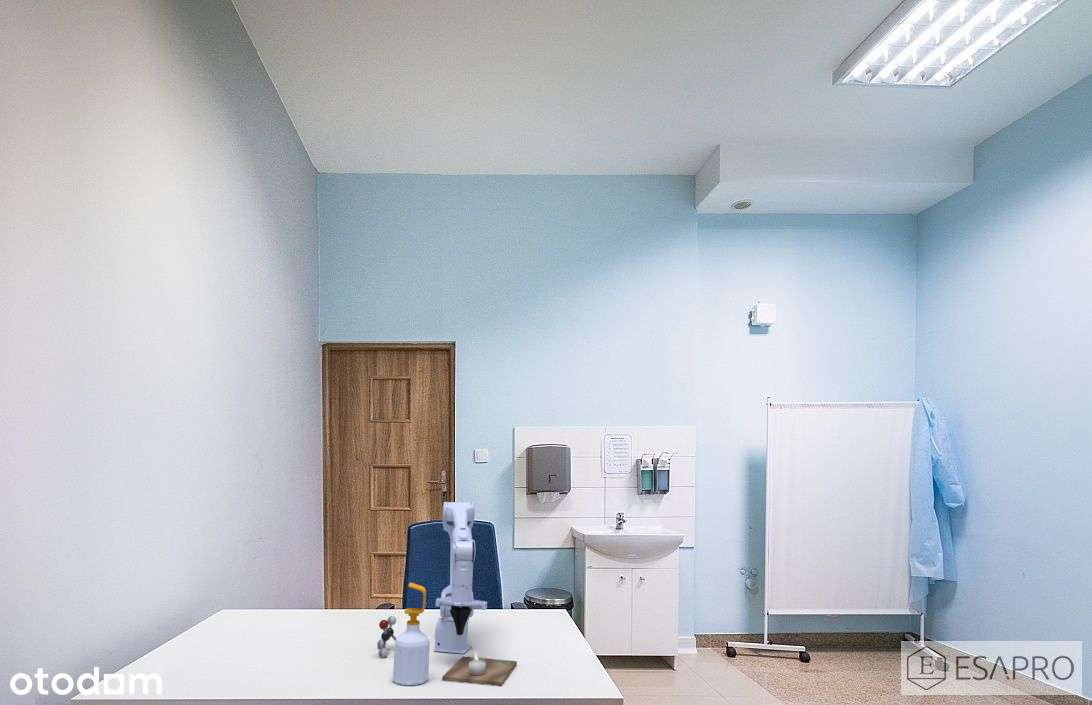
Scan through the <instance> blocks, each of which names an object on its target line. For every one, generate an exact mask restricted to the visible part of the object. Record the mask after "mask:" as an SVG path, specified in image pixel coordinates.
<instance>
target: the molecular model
mask: <svg viewBox="0 0 1092 705" xmlns="http://www.w3.org/2000/svg"><path fill="white" fill-rule="evenodd" d="M395 624H397V617H396V616H394V615H390V616H389V617H388V618H387V619H382V620H380V621H379V624H378V627H379V628H380V629H381V630H382V631H383V632H382V633H381V636H380V639H379V640H378V641H377V642H376V645H377V646H376V647H378V648H379V650H378V653H377V654H378V656H379V657H380V658H382V659H384V658H386V657H387V656H388V654H389V652H388V649H387V648H386V646H387V641H389V640H390V639H391V638H392V639H393V640H394V641H395V640H396V638H397V637H396V636H395V634H394V633H395V632H394V631H395V630H394V629H393V628H392V627H393V626H394V625H395Z"/></svg>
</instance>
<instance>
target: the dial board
mask: <svg viewBox="0 0 1092 705" xmlns="http://www.w3.org/2000/svg"><path fill="white" fill-rule="evenodd" d="M478 660H481V661H485V662H486V666H485V674H483V675H472V674H469V662H470V661H473V656H463V655H462V656H461V657H460V658H459V659H458V660H457V661H456V662H455V663H454V664H453V665H452V666H451V667H450V668H449V669H448V670H447V671H446V672H445V673H444V674H443V675H442V679H441V681H442V680H448V681H447V682H453V681H457V682H456V683H463V682H468V683H467V684H473V683H479V684H478V685H484V684H491V685H490V686H494V685H499V686H498V687H502V686H503V685H502V684H504V683H505V682H506V680H507V679H508V678H509V676H510V675H511V674H510V673H512V672H513V671H514V669H515V668H516V667H517V665H518V661H517V660H508V659H507V660H506V659H496V658H485V657H478ZM516 664H517V665H516ZM515 666H516V667H515ZM514 667H515V668H514ZM512 670H513V671H512ZM511 671H512V672H511ZM509 674H510V675H509ZM507 677H508V678H507ZM504 681H505V682H504Z"/></svg>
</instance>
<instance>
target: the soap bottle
mask: <svg viewBox="0 0 1092 705" xmlns="http://www.w3.org/2000/svg"><path fill="white" fill-rule="evenodd" d="M408 588H410V589H413V590H417V591H420V592H421V593H422V595H423V599H422V607H421V608H418V607H417V608H415V607H413V608H408V607H407V608H405V609H404V614H408V616H409V617H410V618H409V619H410V620H407V621H406V630H405V631H403V632H401V633H400V634H399V635H398V636H397V637H396V640H394V651H393V653H394V654H393V668H392V669H393V671H392V672H393V673H392V674H393V675H392V679H393V682H394V683H395V684H396V685H400V684H401V685H400V686H406V685H412V686H417V685H418V684H419V685H421V684H423V683H426V682H427V681H428V679H429V672H430V671H429V669H430V668H429V667H430V666H429V665H430V648H431V647H430V645H431V643H430V642H431V641H430V638H429V636H428V635H427V634H426V633H424V632H423V631H421V630H420V622H421V621H420V620H418V617H419V615H420V614H423V612H424V611H425V608H426V602H427V590H426V588H425V587H424V586H423V585H420V584H417V583H414V582H409V584H408Z"/></svg>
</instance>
